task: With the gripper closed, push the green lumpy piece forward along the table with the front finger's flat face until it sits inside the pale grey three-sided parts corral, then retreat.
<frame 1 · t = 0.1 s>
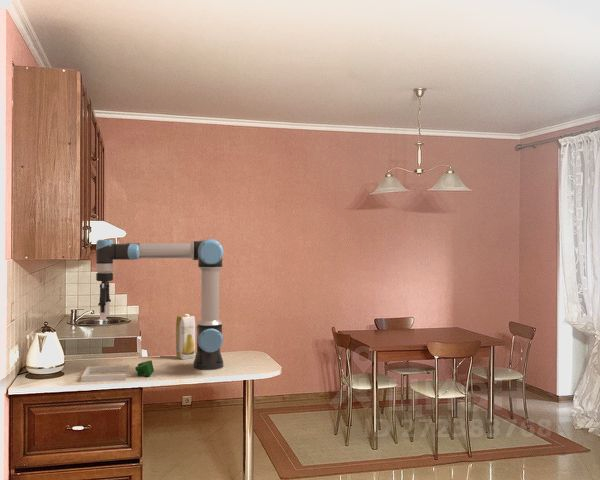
hand: (104, 317, 291), 28 cm above the counter, fingers open, 13 cm apart
juice carton: (185, 358, 336), on the counter
parts corral: (107, 375, 294), on the counter
green lumpy piece: (144, 375, 297), on the counter
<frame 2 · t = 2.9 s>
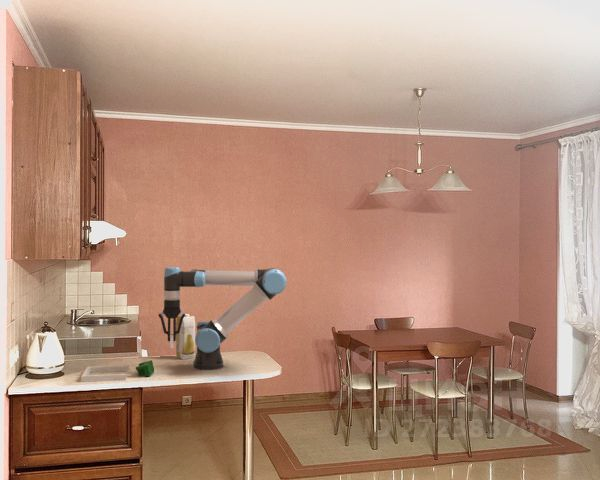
hand: (171, 348, 299), 12 cm above the counter, fingers closed
nothing on the counter moved.
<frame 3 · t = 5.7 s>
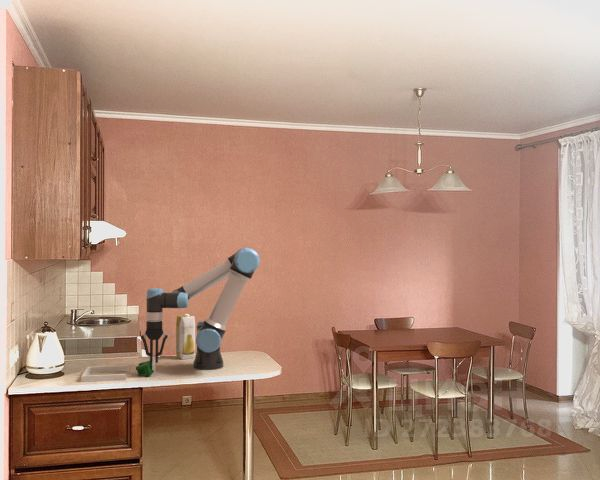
hand: (153, 369, 297), 2 cm above the counter, fingers closed
green lumpy piece: (144, 375, 297), on the counter, touching gripper
everything else where it was.
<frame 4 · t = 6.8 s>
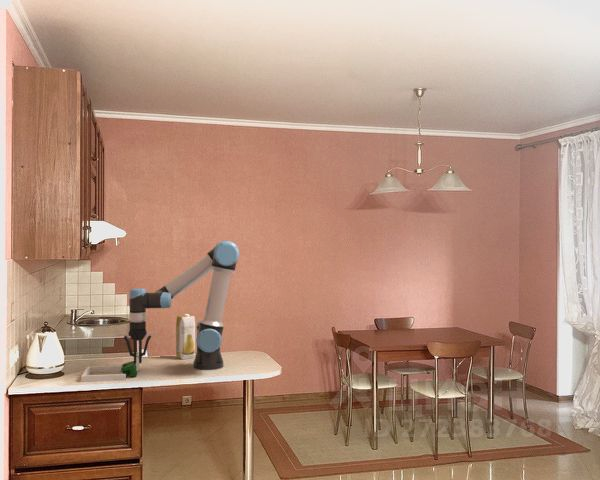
hand: (137, 370, 296), 2 cm above the counter, fingers closed
green lumpy piece: (129, 375, 295), on the counter, touching gripper
everything else where it was.
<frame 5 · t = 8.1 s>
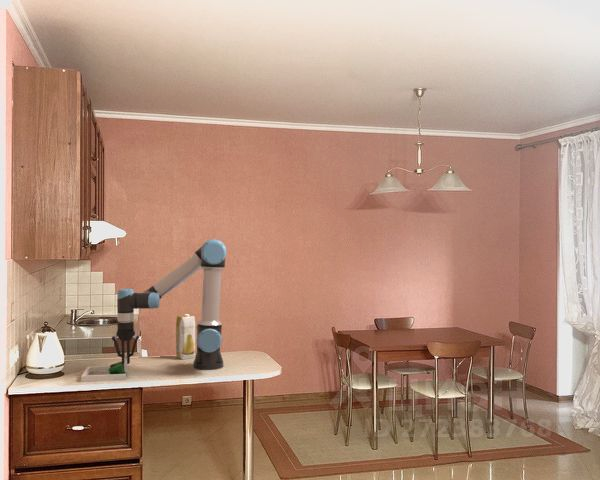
hand: (125, 370, 295), 2 cm above the counter, fingers closed
green lumpy piece: (117, 376, 294), on the counter, touching gripper
everything else where it was.
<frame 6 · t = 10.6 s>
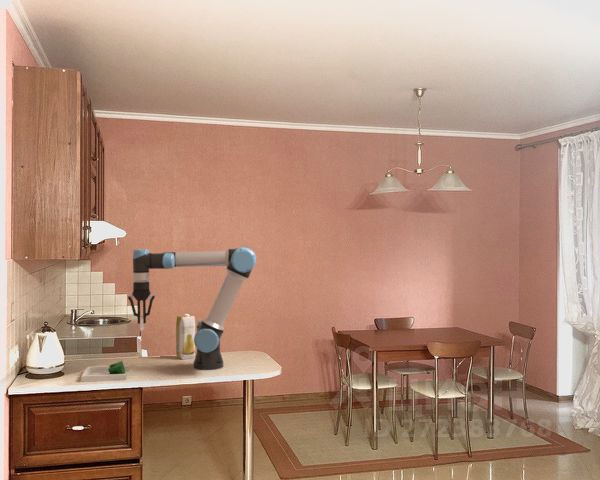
hand: (141, 330, 298), 21 cm above the counter, fingers closed
green lumpy piece: (116, 376, 294), on the counter
everything else where it was.
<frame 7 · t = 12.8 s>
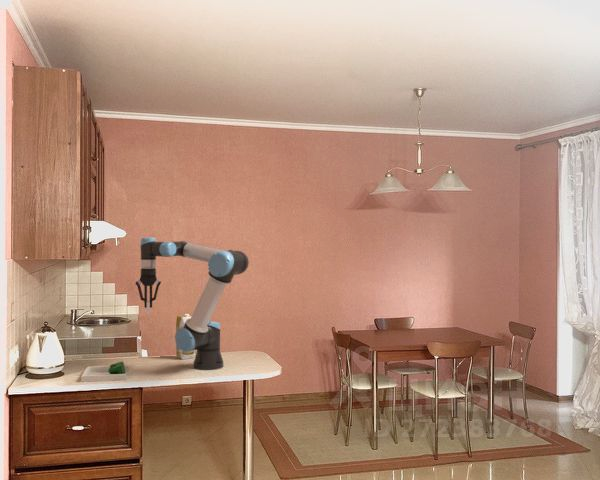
hand: (148, 314, 316), 26 cm above the counter, fingers closed
nothing on the counter moved.
at the end: green lumpy piece inside the target area on the parts corral (4.7 cm from its centre), point 0.0 cm above the parts corral's base; green lumpy piece moved 12.5 cm from its start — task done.
